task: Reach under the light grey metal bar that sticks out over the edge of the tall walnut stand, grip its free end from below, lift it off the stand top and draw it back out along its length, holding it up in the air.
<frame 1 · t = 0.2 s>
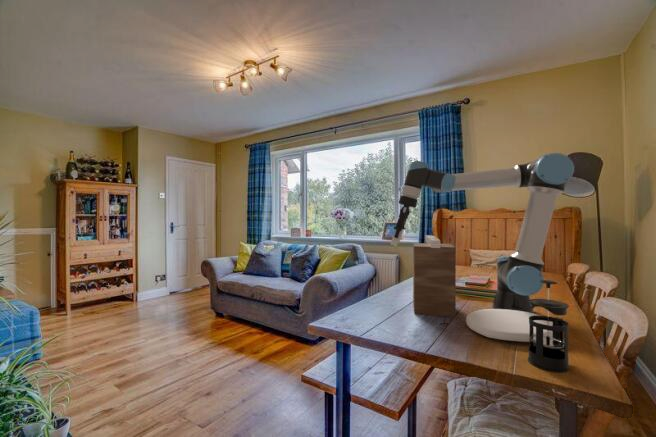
hand: (395, 243, 136), 28 cm above the table, tool tilted 15°, fingers open, 13 cm apart
plate: (509, 332, 110), on the table
metal bar: (432, 244, 139), point 28 cm above the table, touching walnut stand
walnut stand: (432, 309, 135), on the table
french press: (548, 364, 86), on the table
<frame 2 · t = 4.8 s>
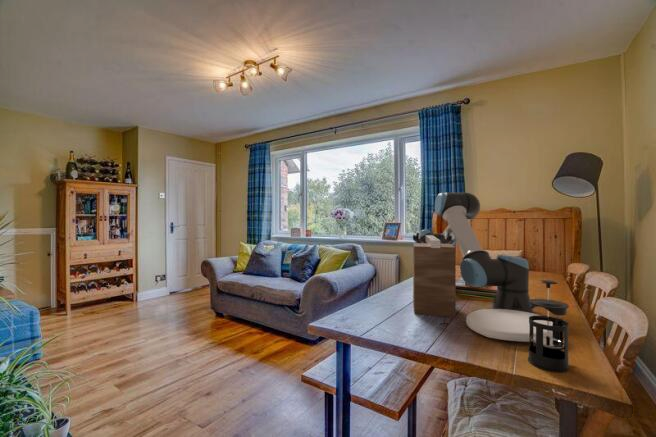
hand: (433, 231, 164), 32 cm above the table, tool pointing upward, fingers open, 13 cm apart
nothing on the table moved.
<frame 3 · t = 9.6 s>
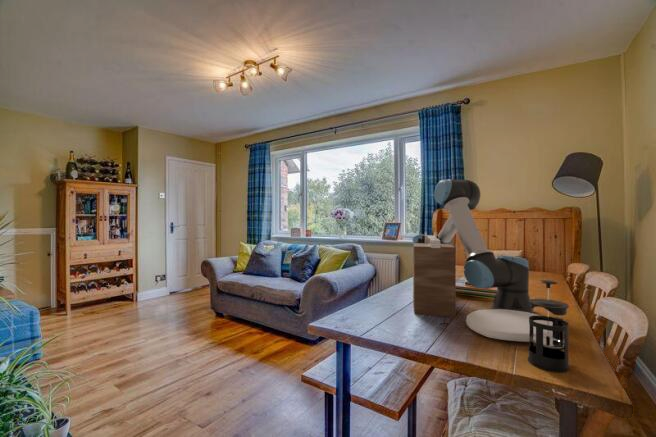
hand: (430, 234, 145), 32 cm above the table, tool pointing upward, fingers closed on metal bar, 3 cm apart
metal bar: (432, 244, 139), point 28 cm above the table, touching gripper, walnut stand
everything else where it was.
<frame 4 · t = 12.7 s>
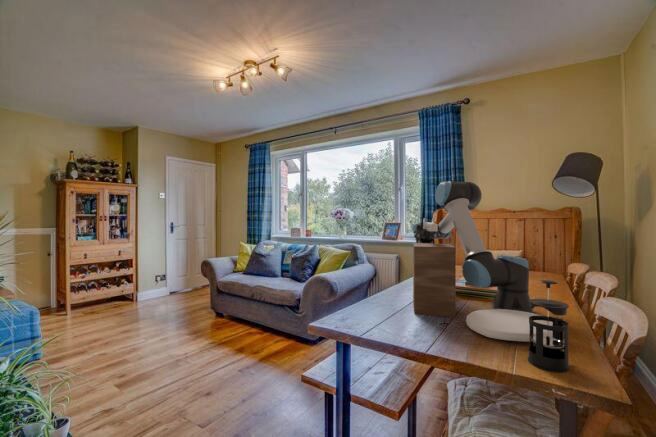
hand: (428, 220, 154), 38 cm above the table, tool pointing upward, fingers closed on metal bar, 3 cm apart
metal bar: (429, 229, 147), point 34 cm above the table, touching gripper
everything else where it was.
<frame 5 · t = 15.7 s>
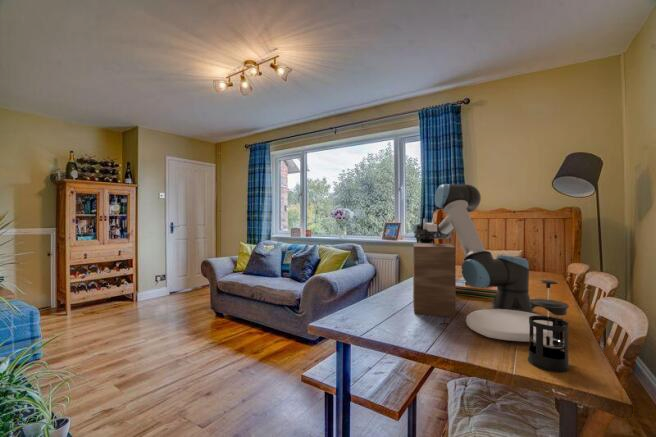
hand: (428, 220, 157), 38 cm above the table, tool pointing upward, fingers closed on metal bar, 3 cm apart
metal bar: (429, 229, 150), point 34 cm above the table, touching gripper
everything else where it was.
at the end: the gripper is holding metal bar; metal bar point 34.0 cm above the table; metal bar moved 13.4 cm from its start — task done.
